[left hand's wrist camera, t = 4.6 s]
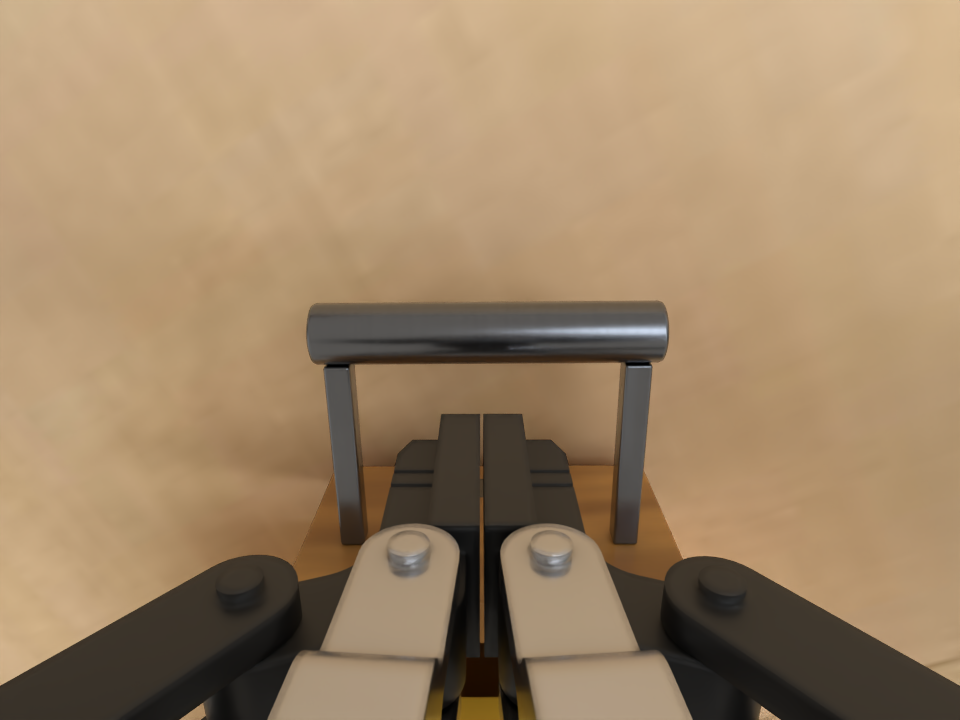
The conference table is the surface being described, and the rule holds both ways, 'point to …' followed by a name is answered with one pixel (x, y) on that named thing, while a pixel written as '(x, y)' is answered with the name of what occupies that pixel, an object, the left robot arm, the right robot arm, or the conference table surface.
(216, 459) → the conference table surface
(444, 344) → the drawer
